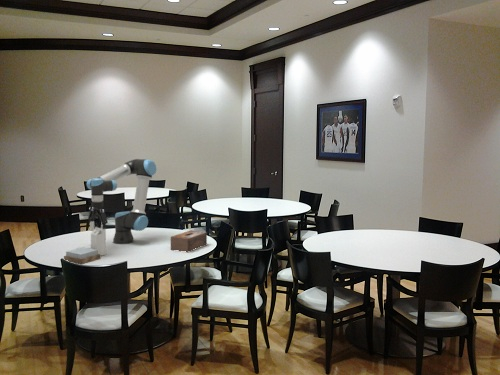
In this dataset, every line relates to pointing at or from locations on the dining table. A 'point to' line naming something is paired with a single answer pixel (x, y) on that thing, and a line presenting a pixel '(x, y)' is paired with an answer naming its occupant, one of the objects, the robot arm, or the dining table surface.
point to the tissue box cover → (188, 240)
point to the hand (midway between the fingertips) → (97, 232)
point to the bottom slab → (82, 261)
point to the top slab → (81, 253)
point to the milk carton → (98, 241)
